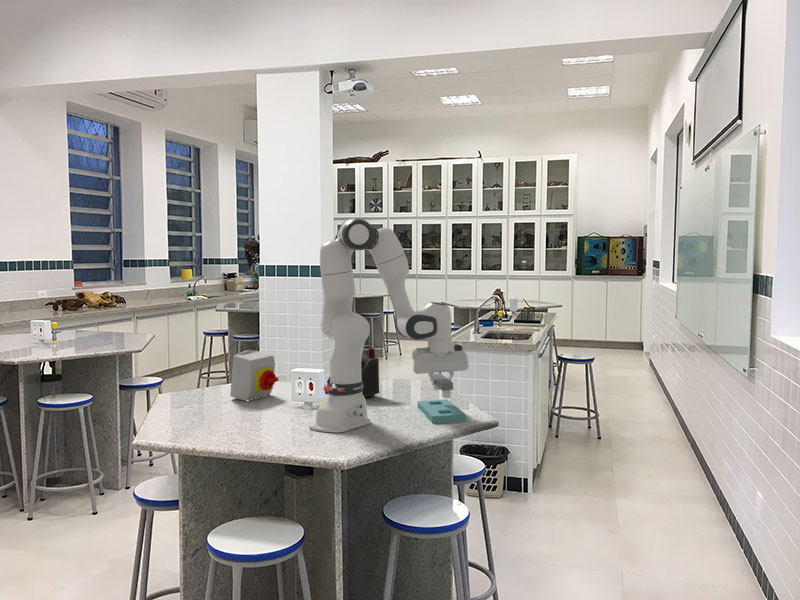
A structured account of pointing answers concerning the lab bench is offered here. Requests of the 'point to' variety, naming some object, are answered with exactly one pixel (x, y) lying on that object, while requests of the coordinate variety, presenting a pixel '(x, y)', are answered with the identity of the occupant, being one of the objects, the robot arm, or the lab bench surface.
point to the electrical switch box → (252, 375)
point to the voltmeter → (368, 374)
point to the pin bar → (443, 385)
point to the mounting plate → (441, 411)
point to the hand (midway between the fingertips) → (441, 384)
